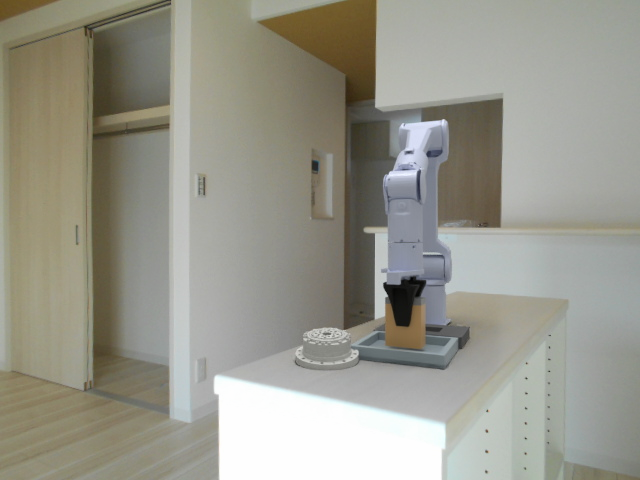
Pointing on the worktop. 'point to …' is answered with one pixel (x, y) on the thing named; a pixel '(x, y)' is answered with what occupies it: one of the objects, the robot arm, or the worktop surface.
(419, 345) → the orange two-tone block
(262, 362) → the worktop surface
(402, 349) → the parts tray
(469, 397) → the worktop surface
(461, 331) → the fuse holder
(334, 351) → the mechanical component
